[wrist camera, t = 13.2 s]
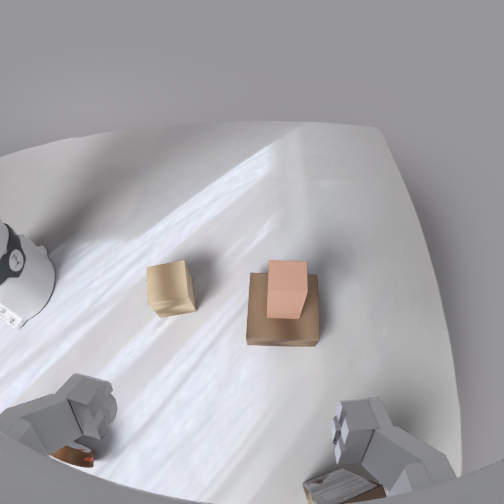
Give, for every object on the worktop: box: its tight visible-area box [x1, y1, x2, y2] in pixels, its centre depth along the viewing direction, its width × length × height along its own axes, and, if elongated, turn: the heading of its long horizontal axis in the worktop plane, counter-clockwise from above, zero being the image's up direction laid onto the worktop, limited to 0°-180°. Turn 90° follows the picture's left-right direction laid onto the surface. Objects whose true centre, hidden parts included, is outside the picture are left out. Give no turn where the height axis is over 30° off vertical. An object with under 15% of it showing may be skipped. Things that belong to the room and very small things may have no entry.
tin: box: [50, 441, 95, 468], centre depth 31 cm, size 15×3×8 cm, turn 83°
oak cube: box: [147, 260, 196, 318], centre depth 46 cm, size 6×6×6 cm
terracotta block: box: [267, 260, 308, 319], centre depth 39 cm, size 4×4×9 cm
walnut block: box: [246, 273, 319, 346], centre depth 44 cm, size 10×10×4 cm
